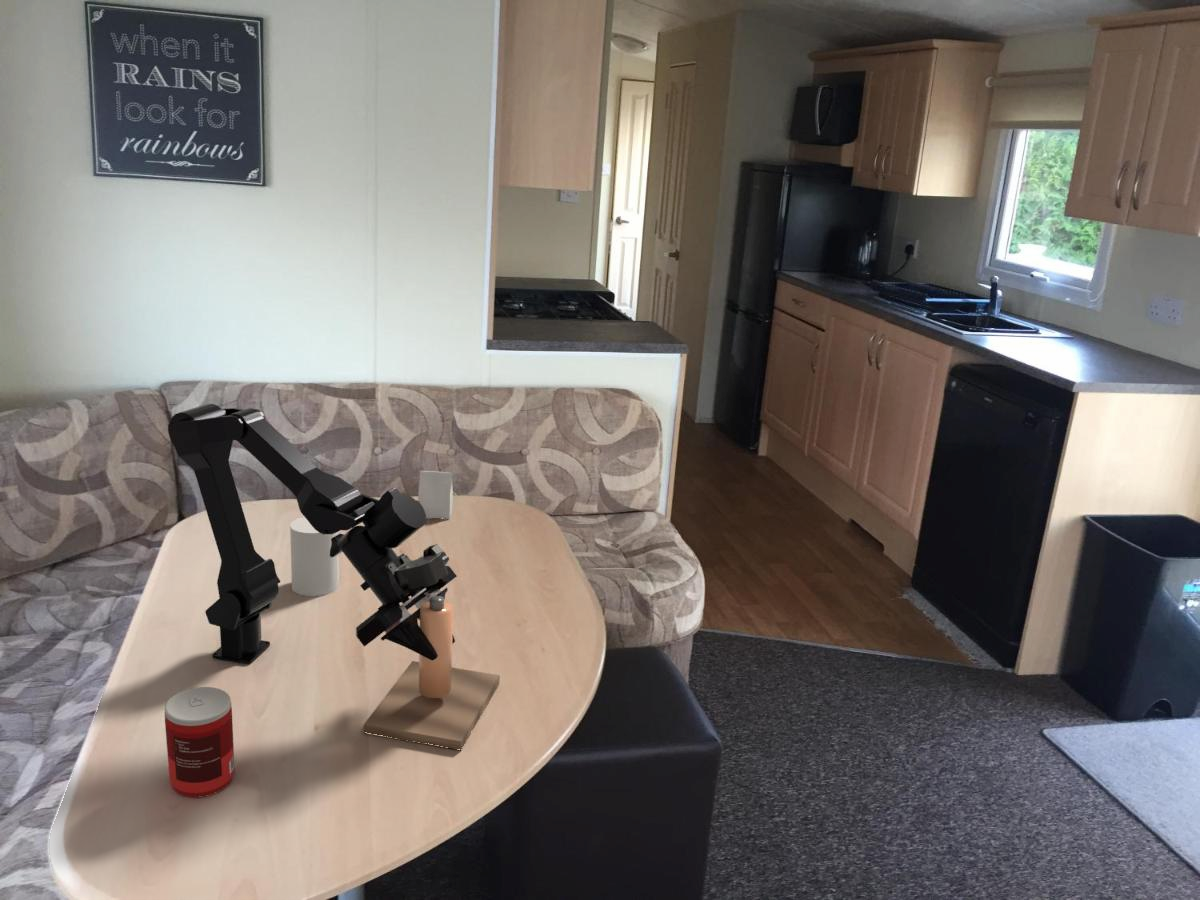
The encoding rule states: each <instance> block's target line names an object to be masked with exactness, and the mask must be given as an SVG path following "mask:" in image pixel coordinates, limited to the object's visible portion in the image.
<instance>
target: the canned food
mask: <svg viewBox="0 0 1200 900" xmlns="http://www.w3.org/2000/svg"><path fill="white" fill-rule="evenodd" d="M164 705H165V706H164V724H165V725H164V726H165V738H166V752H167V763H168V777H169V782H170V785H171V787H172V788H173V789H172V790H174V791H175V792H176V793H177V792H178V793H177V794H179V795H182V796H183V795H184V796H183V797H188V798H200V797H199V796H205V797H207V796H206V795H209V796H211V795H210V794H212V795H214V794H213V793H215V792H217V793H219V792H221V791H222V789H223V788H224V789H225V788H226V786H227V785H228V784H229V785H230V783H231V782H232V781H233V777H234V774H235V751H234V750H235V749H234V729H233V728H234V725H233V709H232V699H231V696H230V695H229V693H228V692H226V691H225V690H223V689H221V688H217V687H213V686H212V687H211V686H199V687H198V686H197V687H192V688H188V689H184V690H182V691H179V692H177V693H175V694H174V695H172V696H171V697H170V698H168V700H167V701H166V703H165V704H164ZM229 785H228V786H229ZM228 786H227V787H228ZM224 789H223V790H224ZM220 790H221V791H220ZM218 791H219V792H218ZM215 794H216V793H215Z"/></svg>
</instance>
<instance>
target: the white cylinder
mask: <svg viewBox="0 0 1200 900" xmlns="http://www.w3.org/2000/svg"><path fill="white" fill-rule="evenodd" d="M289 530H290V566H291V567H290V568H291V573H290V574H291V589H292V591H293V592H294V593H295V594H298V595H301V596H306V597H320V596H321V597H322V596H325V595H329V594H332V593H334V592H335V591H336V590H338V588H339V587H340V578H339V577H340V574H339V567H340V566H339V565H340V564H339V561H340V560H339V557H340V556H339V554H338V555H336V556H335V557H330V548H331V538H333V537H335V536H336V535H338V534H339V531H338V532H337V533H334V534H325V535H323V534H321V533H319V532H318V531H316V530H315V529H314V528H313V527H312V525H311V524H310V523H309V522H308V520H307V519H306V518H305V517H304V516H303V517H299V518H296V519H294V520H293V521H291V522H290V524H289Z"/></svg>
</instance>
